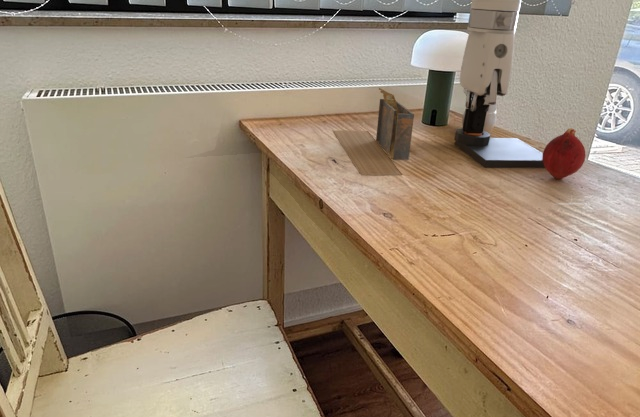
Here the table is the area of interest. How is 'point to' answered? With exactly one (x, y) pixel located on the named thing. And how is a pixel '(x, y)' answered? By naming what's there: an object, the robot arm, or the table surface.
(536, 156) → the scale
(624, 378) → the table surface
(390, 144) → the ruin model on sheet
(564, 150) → the onion
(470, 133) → the button
